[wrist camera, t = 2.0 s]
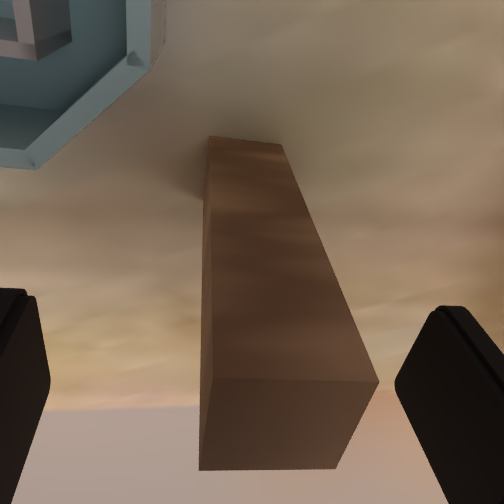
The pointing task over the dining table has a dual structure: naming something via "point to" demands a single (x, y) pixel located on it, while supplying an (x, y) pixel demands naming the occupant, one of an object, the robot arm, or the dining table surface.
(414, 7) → the dining table surface
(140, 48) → the octagonal socket dish
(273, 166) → the wood grain block
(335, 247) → the dining table surface
